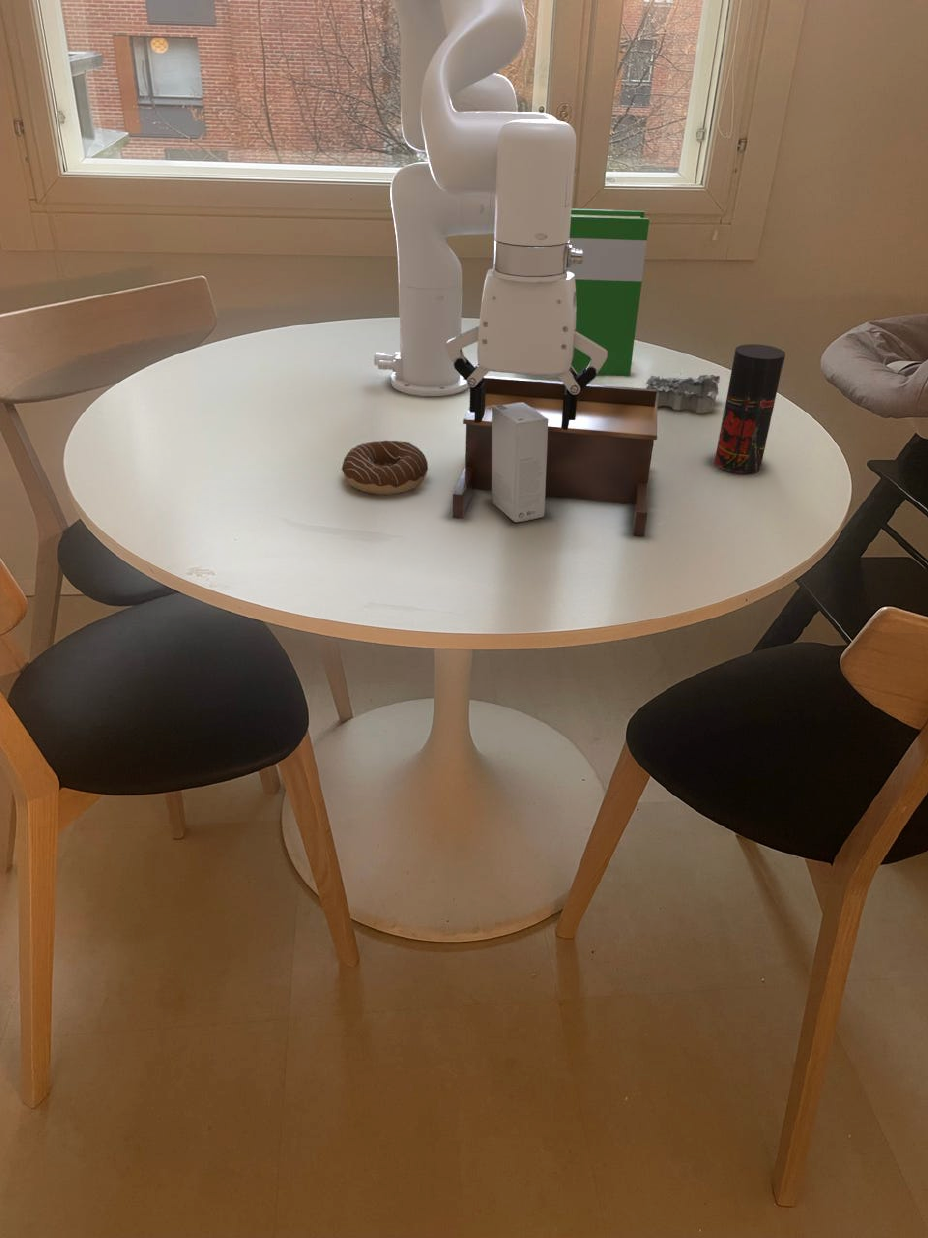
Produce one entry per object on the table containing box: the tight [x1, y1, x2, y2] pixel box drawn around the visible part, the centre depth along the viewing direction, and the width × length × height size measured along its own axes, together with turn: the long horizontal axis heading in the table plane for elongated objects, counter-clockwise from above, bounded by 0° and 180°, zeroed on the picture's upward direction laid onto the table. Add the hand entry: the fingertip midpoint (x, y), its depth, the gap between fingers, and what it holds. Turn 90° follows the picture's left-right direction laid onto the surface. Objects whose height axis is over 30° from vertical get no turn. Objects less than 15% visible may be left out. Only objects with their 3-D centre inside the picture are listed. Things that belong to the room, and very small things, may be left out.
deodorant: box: [714, 343, 786, 475], centre depth 115 cm, size 6×6×15 cm
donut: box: [341, 440, 429, 495], centre depth 111 cm, size 11×11×4 cm
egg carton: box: [645, 374, 721, 415], centre depth 137 cm, size 11×8×4 cm
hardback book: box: [567, 208, 650, 377], centre depth 145 cm, size 18×7×24 cm, turn 87°
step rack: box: [452, 375, 658, 537], centre depth 108 cm, size 23×18×11 cm
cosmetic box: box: [491, 402, 549, 523], centre depth 103 cm, size 6×4×12 cm
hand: (522, 422), depth 100 cm, fingers open, 9 cm apart
